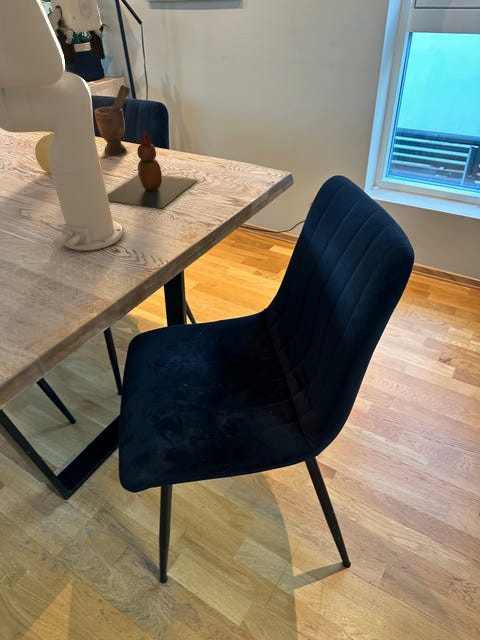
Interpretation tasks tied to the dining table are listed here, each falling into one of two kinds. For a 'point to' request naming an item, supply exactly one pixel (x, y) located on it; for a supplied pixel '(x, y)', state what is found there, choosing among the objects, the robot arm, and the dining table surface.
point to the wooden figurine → (148, 164)
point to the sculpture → (43, 151)
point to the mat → (150, 192)
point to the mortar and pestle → (113, 124)
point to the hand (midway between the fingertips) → (85, 61)
